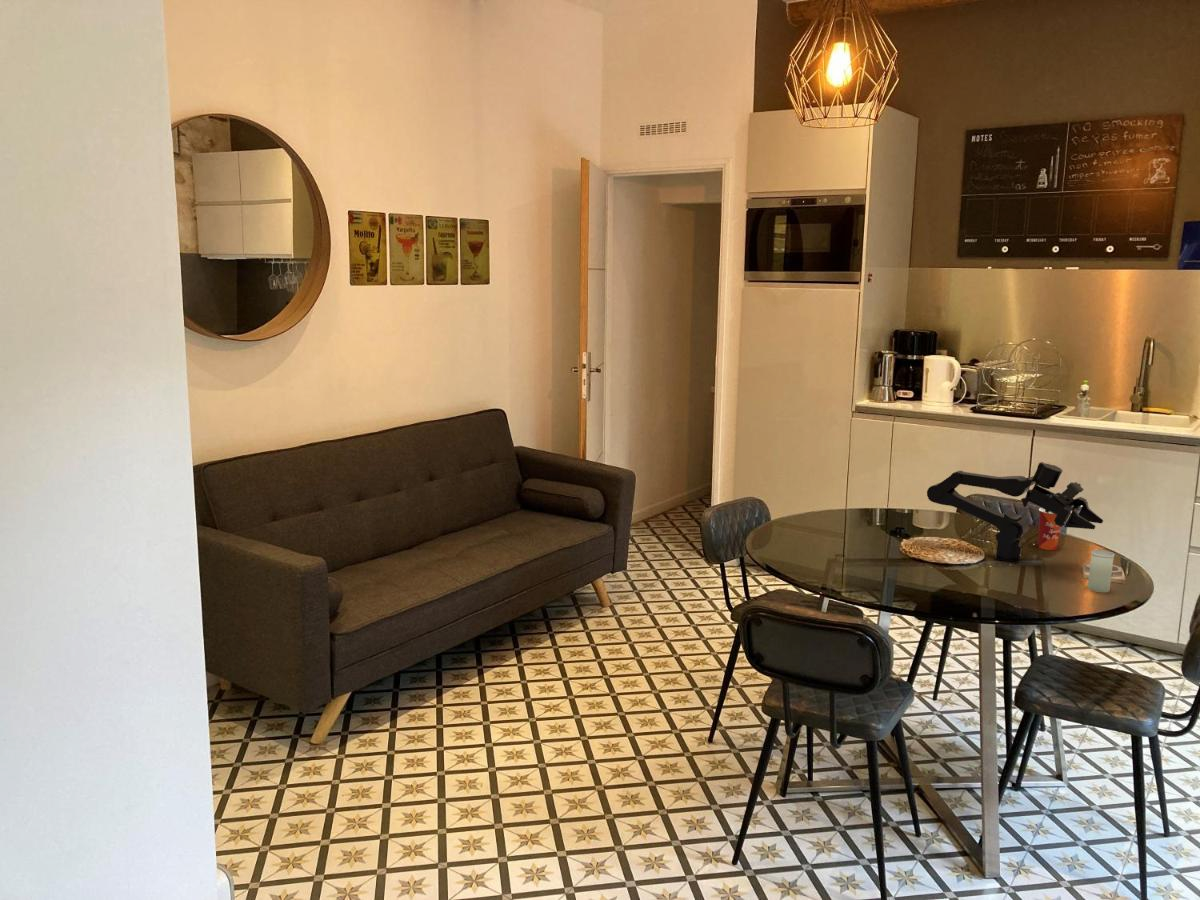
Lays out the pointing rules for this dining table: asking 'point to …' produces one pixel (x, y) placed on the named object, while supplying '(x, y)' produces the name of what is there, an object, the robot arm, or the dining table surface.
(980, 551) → the dining table surface
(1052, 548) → the paper cup
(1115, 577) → the seat board
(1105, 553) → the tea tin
